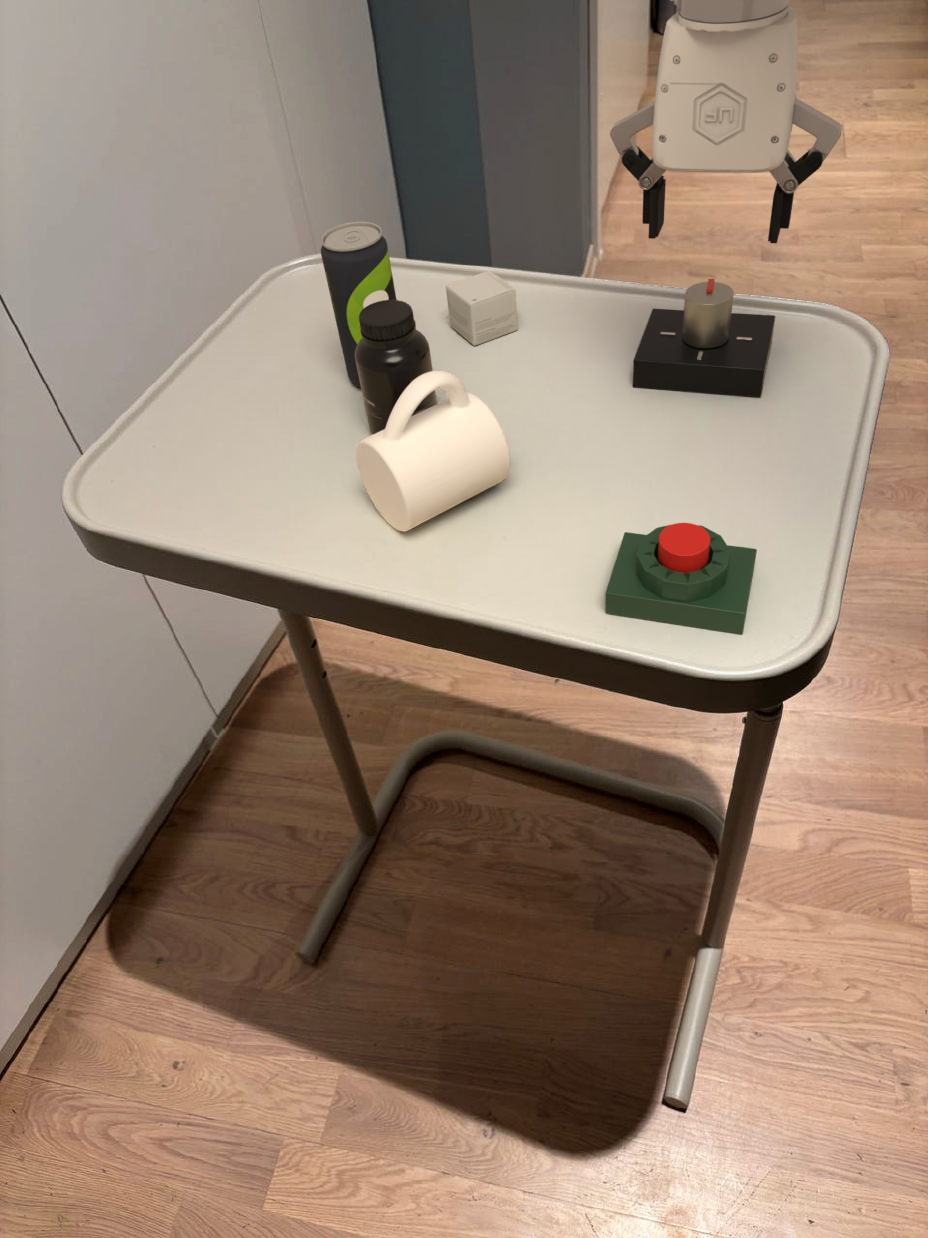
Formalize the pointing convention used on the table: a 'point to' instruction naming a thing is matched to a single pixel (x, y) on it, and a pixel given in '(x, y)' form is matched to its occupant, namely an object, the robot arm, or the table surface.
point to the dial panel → (704, 356)
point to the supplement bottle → (390, 359)
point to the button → (684, 547)
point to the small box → (482, 307)
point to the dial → (707, 314)
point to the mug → (432, 453)
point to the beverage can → (355, 280)
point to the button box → (681, 585)
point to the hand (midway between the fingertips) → (714, 233)
